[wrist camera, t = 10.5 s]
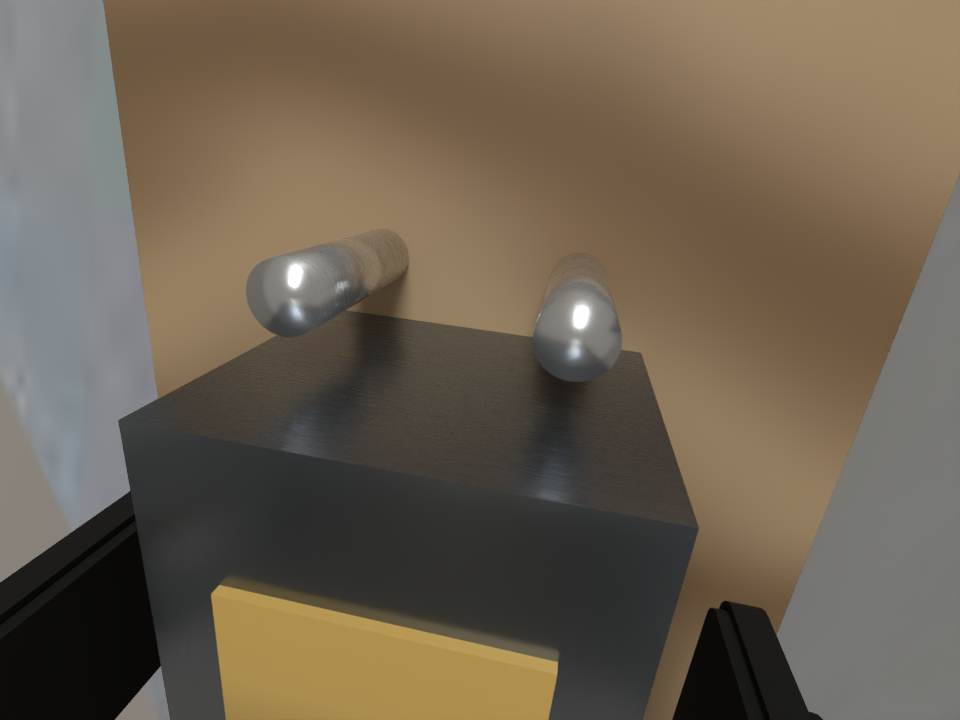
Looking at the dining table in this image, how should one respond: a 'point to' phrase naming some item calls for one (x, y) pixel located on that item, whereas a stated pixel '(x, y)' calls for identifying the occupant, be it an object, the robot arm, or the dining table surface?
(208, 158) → the tray
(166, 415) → the block
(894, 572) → the dining table surface
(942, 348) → the dining table surface
